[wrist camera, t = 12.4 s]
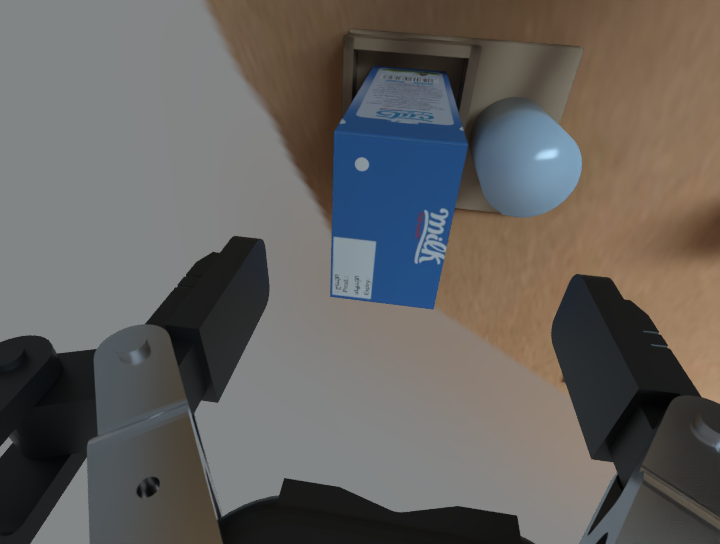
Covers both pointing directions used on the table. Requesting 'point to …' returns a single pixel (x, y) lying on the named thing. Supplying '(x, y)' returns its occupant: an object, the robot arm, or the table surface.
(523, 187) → the pale blue rounded block
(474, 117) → the caddy
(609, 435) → the robot arm
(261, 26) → the table surface
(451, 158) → the milk carton
